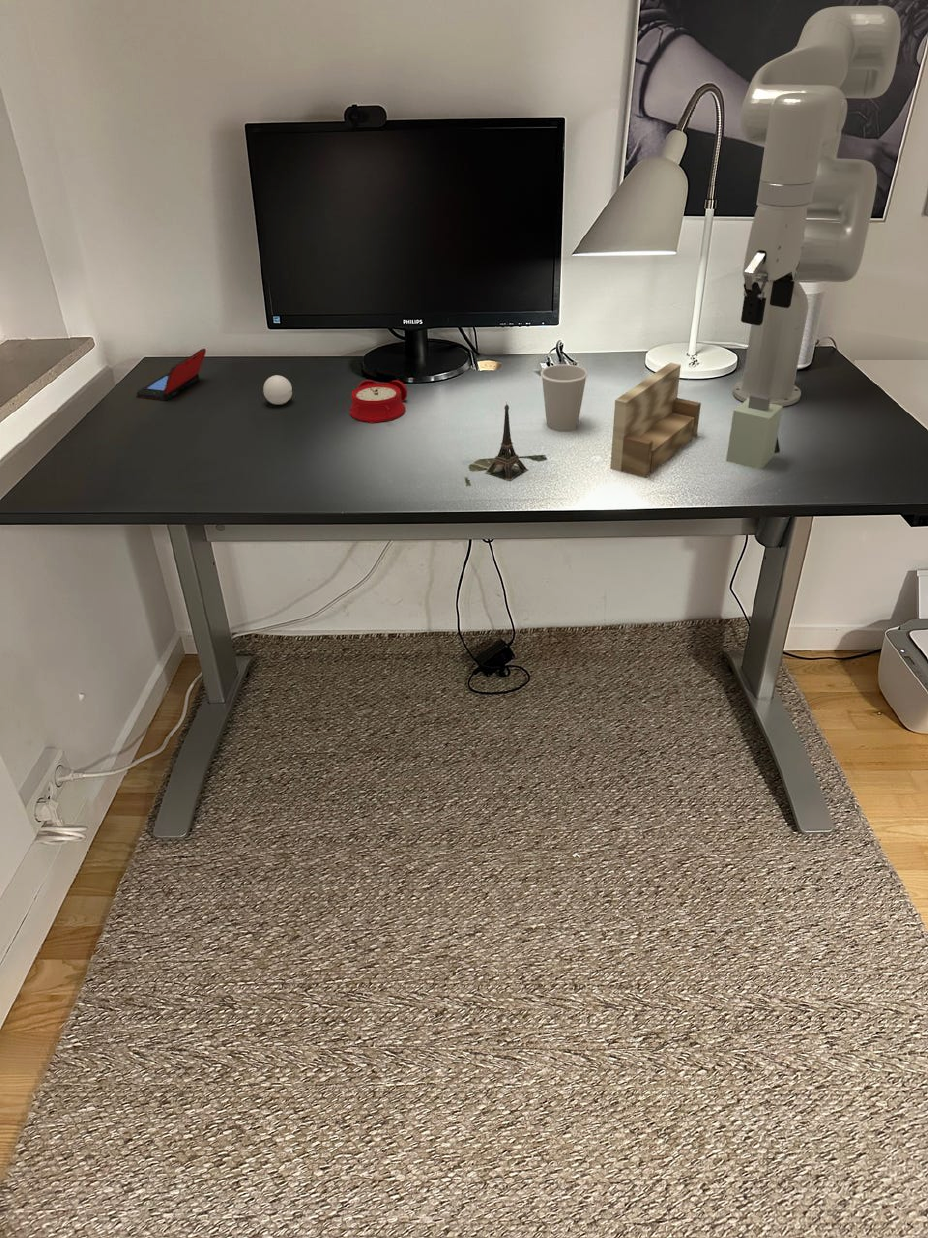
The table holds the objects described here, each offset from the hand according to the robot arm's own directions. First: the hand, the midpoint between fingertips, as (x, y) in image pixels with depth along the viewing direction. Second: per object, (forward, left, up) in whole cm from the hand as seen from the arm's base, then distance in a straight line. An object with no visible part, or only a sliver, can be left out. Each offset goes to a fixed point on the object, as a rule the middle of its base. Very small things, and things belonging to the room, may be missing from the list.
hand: (765, 314), depth 139 cm
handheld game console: (+30, -110, -25) cm, 117 cm away
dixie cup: (+4, -33, -25) cm, 41 cm away
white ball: (+24, -86, -25) cm, 93 cm away
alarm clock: (+16, -67, -25) cm, 73 cm away
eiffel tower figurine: (+24, -31, -25) cm, 47 cm away
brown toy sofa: (+5, -14, -24) cm, 28 cm away
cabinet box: (-2, +1, -25) cm, 25 cm away
